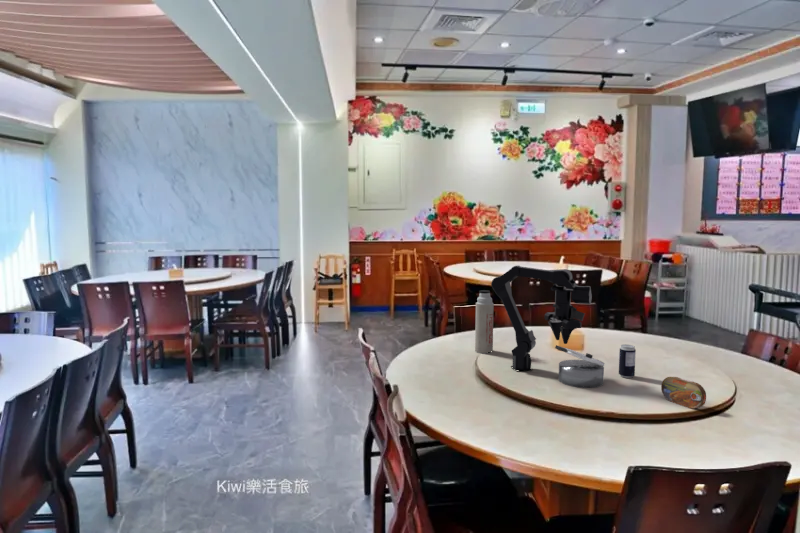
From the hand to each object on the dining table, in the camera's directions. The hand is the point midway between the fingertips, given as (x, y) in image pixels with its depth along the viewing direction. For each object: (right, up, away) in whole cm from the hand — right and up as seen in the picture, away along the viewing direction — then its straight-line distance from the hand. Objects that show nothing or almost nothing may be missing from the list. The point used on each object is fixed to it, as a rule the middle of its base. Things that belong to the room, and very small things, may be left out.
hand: (561, 341), depth 210 cm
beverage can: (+25, -13, -1) cm, 28 cm away
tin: (+31, -16, -31) cm, 47 cm away
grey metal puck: (+5, -14, -7) cm, 16 cm away
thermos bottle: (-24, -10, +37) cm, 45 cm away
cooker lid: (+4, -4, -8) cm, 10 cm away
